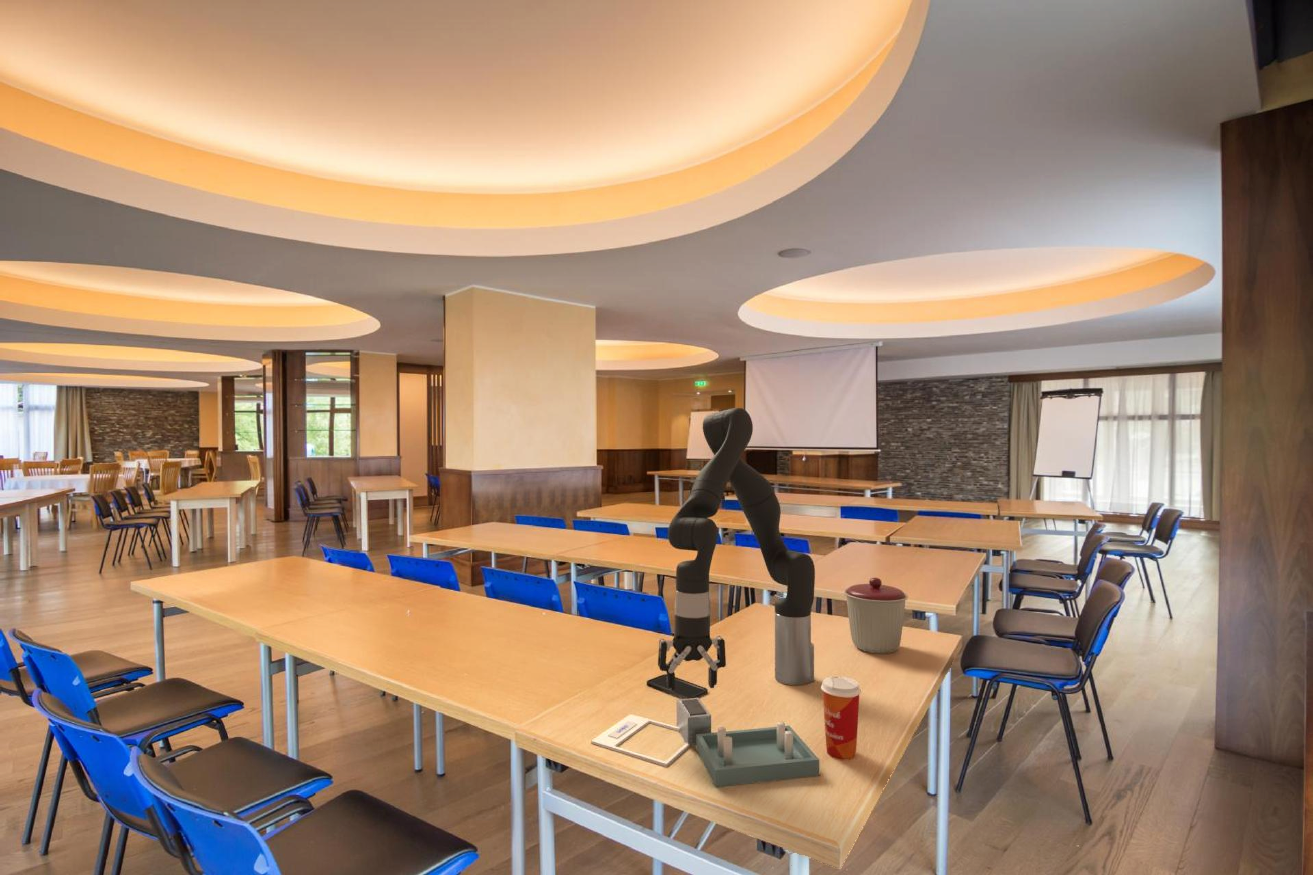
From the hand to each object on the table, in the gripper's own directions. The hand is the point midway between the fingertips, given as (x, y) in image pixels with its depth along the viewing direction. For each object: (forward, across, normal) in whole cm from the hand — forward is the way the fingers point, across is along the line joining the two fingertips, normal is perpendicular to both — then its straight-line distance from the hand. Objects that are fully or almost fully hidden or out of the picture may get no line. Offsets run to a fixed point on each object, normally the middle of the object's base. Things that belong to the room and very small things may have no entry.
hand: (691, 688), depth 132 cm
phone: (+10, -2, -25) cm, 27 cm away
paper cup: (+10, -28, +13) cm, 32 cm away
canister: (+9, -67, -43) cm, 80 cm away
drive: (+10, 0, 0) cm, 10 cm away
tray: (+10, -10, +13) cm, 19 cm away
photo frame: (+11, +10, 0) cm, 14 cm away
